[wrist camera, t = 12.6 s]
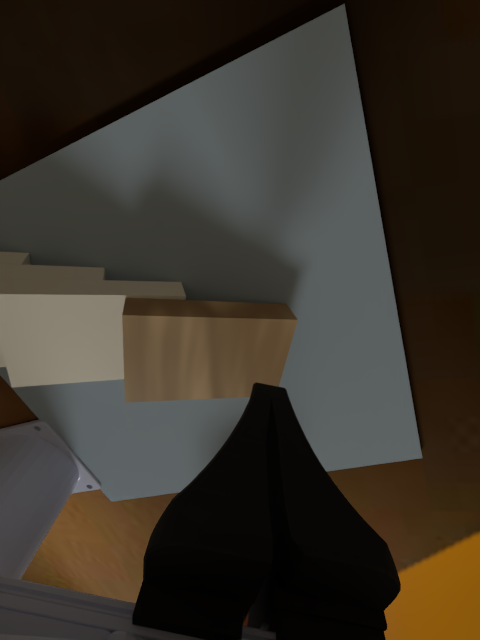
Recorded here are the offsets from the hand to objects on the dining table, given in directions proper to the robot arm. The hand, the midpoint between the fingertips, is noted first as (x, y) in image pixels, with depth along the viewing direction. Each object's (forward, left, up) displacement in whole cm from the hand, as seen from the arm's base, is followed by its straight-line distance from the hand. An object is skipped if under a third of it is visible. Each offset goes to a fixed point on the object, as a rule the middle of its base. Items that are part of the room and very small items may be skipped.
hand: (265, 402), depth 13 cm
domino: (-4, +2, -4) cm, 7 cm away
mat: (-6, 0, -5) cm, 8 cm away
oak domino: (+1, -1, -4) cm, 4 cm away
